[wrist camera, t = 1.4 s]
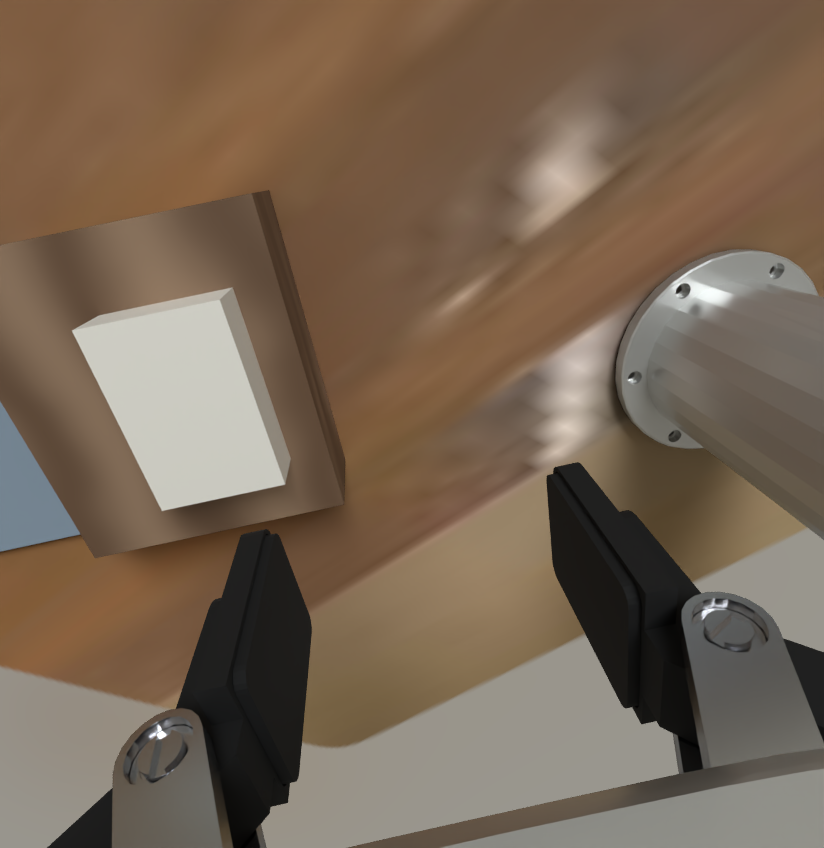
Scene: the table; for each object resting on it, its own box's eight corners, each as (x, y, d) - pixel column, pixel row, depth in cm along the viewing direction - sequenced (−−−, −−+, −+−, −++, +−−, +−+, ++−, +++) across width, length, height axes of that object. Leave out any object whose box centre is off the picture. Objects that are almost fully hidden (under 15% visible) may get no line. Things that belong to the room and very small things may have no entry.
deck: (269, 190, 26) (251, 193, 21) (345, 459, 33) (344, 504, 28) (-8, 247, 25) (-84, 262, 21) (130, 505, 33) (95, 558, 28)
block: (232, 287, 23) (219, 299, 20) (290, 458, 27) (285, 484, 24) (99, 315, 23) (71, 330, 20) (177, 482, 27) (162, 511, 24)
